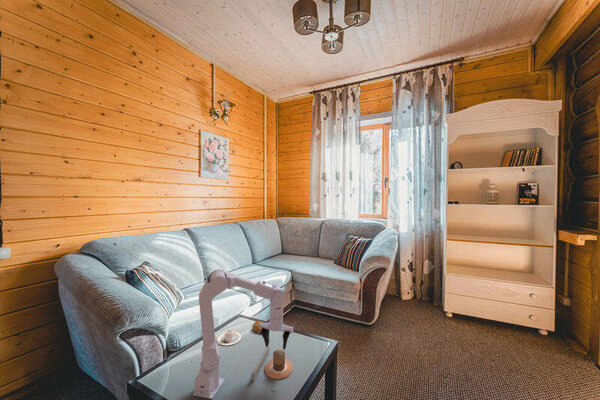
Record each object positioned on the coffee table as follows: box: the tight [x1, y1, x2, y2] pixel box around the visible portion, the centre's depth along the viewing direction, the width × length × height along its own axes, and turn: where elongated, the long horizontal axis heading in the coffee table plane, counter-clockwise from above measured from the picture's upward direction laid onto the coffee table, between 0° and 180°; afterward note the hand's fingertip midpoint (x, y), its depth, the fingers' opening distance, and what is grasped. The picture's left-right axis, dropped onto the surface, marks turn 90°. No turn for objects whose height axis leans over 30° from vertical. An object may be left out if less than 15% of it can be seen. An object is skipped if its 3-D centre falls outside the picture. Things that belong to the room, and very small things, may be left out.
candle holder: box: [216, 328, 242, 346], centre depth 126 cm, size 12×12×4 cm
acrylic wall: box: [251, 345, 270, 382], centre depth 106 cm, size 18×1×3 cm, turn 168°
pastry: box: [252, 320, 265, 334], centre depth 134 cm, size 9×7×4 cm
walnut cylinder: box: [272, 349, 286, 371], centre depth 105 cm, size 5×5×6 cm
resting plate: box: [264, 358, 294, 380], centre depth 105 cm, size 12×12×1 cm
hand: (275, 346), depth 105 cm, fingers open, 7 cm apart
